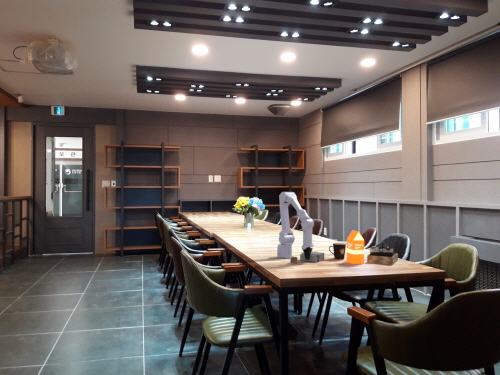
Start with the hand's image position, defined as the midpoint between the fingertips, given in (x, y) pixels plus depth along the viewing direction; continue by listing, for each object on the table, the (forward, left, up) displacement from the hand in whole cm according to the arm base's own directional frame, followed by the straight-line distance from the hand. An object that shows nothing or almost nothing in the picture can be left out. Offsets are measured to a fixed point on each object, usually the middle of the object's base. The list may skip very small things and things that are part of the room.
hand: (307, 259), depth 239 cm
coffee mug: (+12, +23, -2) cm, 26 cm away
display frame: (+40, +30, -2) cm, 50 cm away
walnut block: (-6, -7, -2) cm, 10 cm away
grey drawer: (0, +7, -2) cm, 7 cm away
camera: (+39, +28, -2) cm, 48 cm away
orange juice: (+26, +16, -2) cm, 30 cm away
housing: (0, +10, -2) cm, 10 cm away
